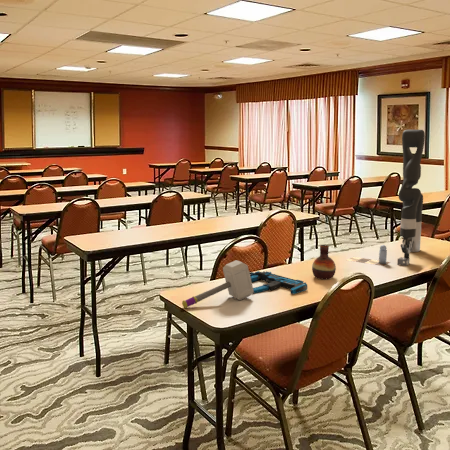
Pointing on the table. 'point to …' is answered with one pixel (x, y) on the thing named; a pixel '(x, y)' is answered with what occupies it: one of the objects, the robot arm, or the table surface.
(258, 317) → the table surface
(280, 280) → the submachine gun
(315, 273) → the vase
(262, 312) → the table surface
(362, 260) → the board
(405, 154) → the robot arm
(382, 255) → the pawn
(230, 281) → the hammer
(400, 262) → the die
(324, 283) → the table surface
